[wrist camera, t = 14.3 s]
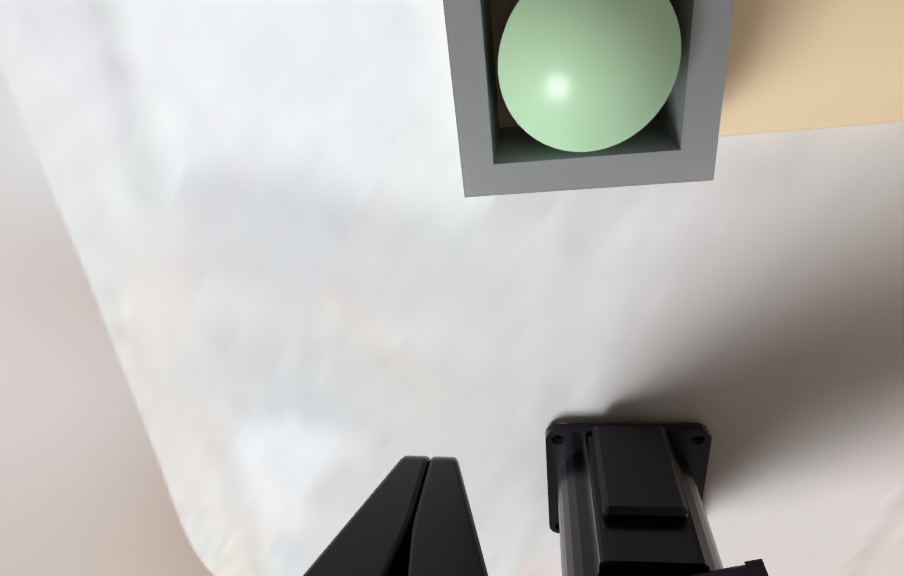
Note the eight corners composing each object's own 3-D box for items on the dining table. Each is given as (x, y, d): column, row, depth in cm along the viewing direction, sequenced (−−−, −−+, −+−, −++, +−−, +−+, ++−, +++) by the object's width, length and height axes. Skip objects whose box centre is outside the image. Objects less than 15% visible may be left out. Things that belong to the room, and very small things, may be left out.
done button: (645, 109, 16) (673, 145, 13) (508, 121, 16) (503, 158, 13) (653, -50, 14) (689, -53, 11) (498, -30, 14) (490, -26, 11)
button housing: (679, 139, 16) (713, 180, 13) (475, 155, 17) (464, 197, 14) (700, -109, 13) (749, -129, 10) (453, -73, 14) (433, -82, 11)
